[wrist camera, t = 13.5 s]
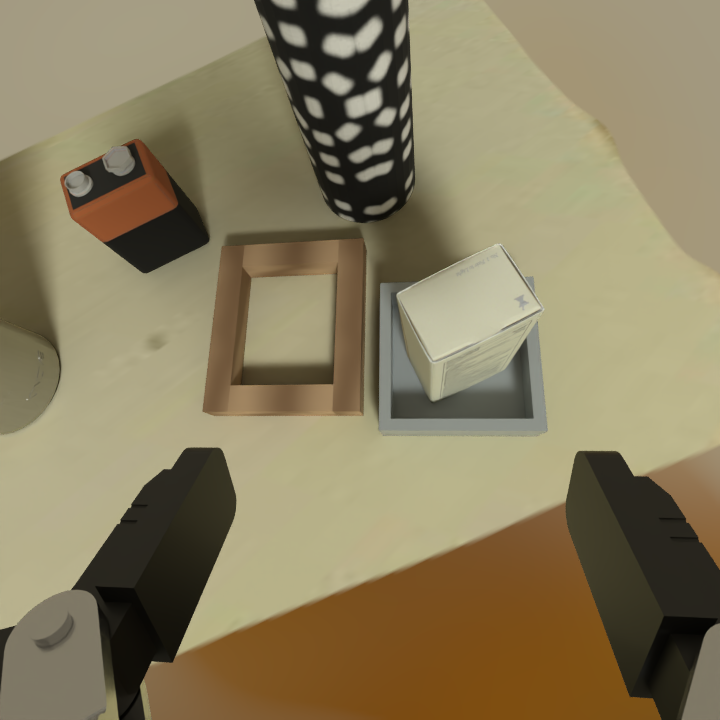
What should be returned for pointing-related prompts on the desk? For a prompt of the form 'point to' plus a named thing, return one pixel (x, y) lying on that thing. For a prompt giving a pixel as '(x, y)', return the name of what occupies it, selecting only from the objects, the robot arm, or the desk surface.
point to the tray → (463, 409)
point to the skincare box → (467, 321)
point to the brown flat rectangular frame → (231, 328)
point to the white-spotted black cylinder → (349, 97)
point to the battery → (134, 207)
